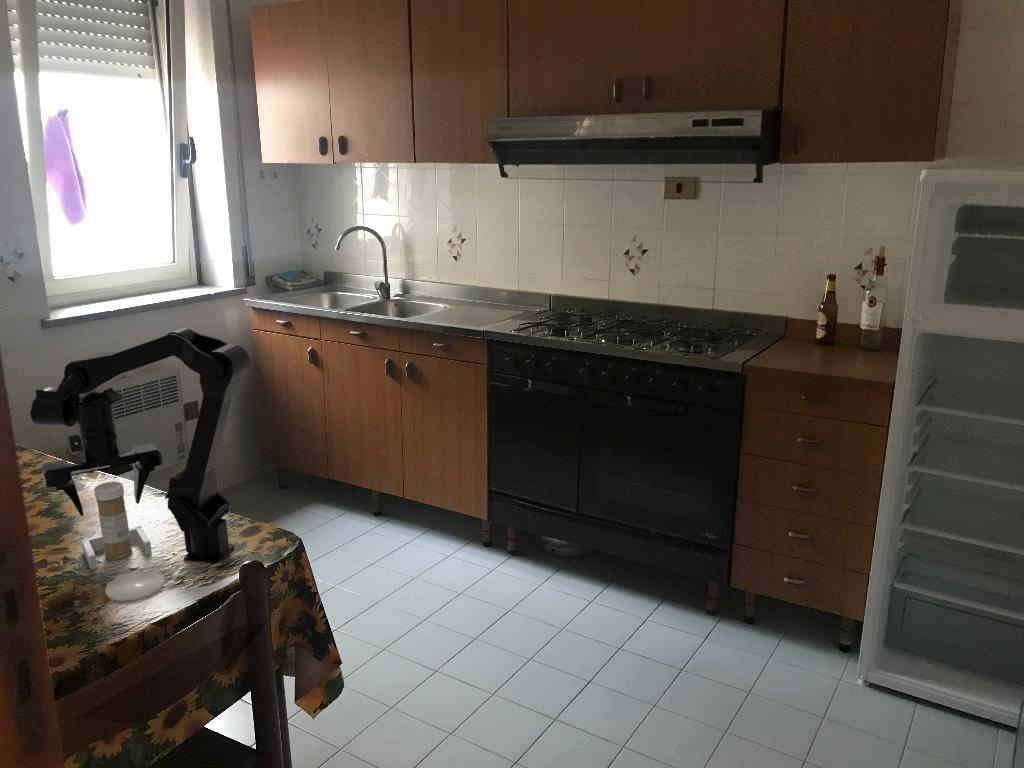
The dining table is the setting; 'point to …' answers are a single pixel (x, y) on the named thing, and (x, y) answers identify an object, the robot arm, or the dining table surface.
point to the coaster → (135, 586)
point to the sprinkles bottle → (113, 520)
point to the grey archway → (97, 544)
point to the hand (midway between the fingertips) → (110, 509)
